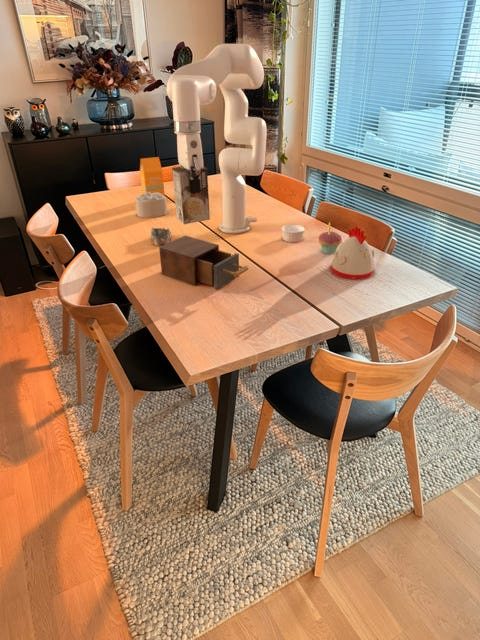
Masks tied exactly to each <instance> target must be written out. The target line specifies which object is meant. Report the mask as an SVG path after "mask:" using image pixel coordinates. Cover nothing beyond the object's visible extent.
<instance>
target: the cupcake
mask: <svg viewBox="0 0 480 640" xmlns="http://www.w3.org/2000/svg"><path fill="white" fill-rule="evenodd" d="M331 225H332V224H331V221H328V227H327V229H328V231H324V232H322V233H320V234H319V235H318V243H319V245H320V247H321V250H322V252H323V253H325V254H328V255H330V254H335V251H337V249H338V248H339V246H340V245H341V244H342V243H343V238H342V236H341V235H340V234H339V233H337V232H335V231H331Z"/></svg>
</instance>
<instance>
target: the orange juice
mask: <svg viewBox="0 0 480 640" xmlns="http://www.w3.org/2000/svg"><path fill="white" fill-rule="evenodd" d="M163 173H164V172H163V169H162V164H161V160H160V157H159V156H155V157H143V158H140V162H139V175H140V183H141V191H142V194H144V193H146V192H150V193H151V194H152V193H155V192H158V193H160V194H162V195H163V196H165V197H166V195H165V186H164V175H163Z"/></svg>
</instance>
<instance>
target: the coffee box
mask: <svg viewBox="0 0 480 640" xmlns="http://www.w3.org/2000/svg"><path fill="white" fill-rule="evenodd" d="M192 168H195V167H191V169H192ZM171 171H172V182H173V183H172V184H173V190H174V191H173V192H174V193H173V194H174V204H175V214H176V219H177V220H178V221H179V222H180V223H182V224H183V225H188V224H194V223H199V222H205V221H210V220H211V213H210V212H211V211H210V199H209V196H210V195H209V179H208V167H205V166H203V168H202V169H201V171H200V192H199V193H190V186H189V180H190V175H189V170H187V169H186V168H184V167H183V166H182V167H181V166H175V167H171ZM193 172H195V171H192V175H193Z"/></svg>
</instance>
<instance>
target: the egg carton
mask: <svg viewBox="0 0 480 640" xmlns="http://www.w3.org/2000/svg"><path fill="white" fill-rule="evenodd" d="M171 234H172V232H171V231H170V229H169V228H165V227H162V228H161V227H160V228H158V227H157V228H156V227H151V231H150V238H151V239H152V244H153V245H154V246H158V247H160V246H161V245H165V244H167V243H170V242H172V239H171Z"/></svg>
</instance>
